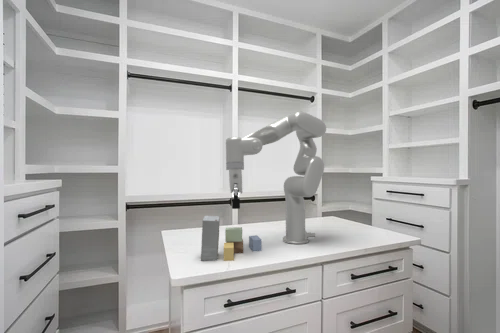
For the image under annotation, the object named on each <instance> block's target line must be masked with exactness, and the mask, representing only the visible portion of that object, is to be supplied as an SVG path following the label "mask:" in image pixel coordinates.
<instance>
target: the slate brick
mask: <svg viewBox="0 0 500 333" xmlns="http://www.w3.org/2000/svg"><path fill="white" fill-rule="evenodd" d="M262 241H263V240H262V238H260V236H258V235H257V234H256V235H248V247H249V249H250V250H251V251H252V252H261V251H262V250H263V249H262V246H263V245H262Z"/></svg>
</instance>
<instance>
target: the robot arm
mask: <svg viewBox="0 0 500 333" xmlns="http://www.w3.org/2000/svg"><path fill="white" fill-rule="evenodd" d="M293 132H295V135H296V137H297V139H298V141H299V145H300V147H299V150H298V153H297V156H296V159H295V161H294V164H293V167H292V168H293V172H294V173H295V174H296V175H292V176H288V177H287V178H286V179H285V180H284V182H283V192H284V197H285V235H284V236H283V237H282V241H283V242H284V243H287V244H291V245H303V244H304V245H305V244H307V243H309V241H310V240H309V238H316V233H315V232H307V230H306V202H305V198H311V197H313V196H314V195H316V193H317V192H318V188H319V187H320V183H321V180H322V178H323V175H324V172H325V162H324V160H323V159H322V158H321V157H320V156H318V155H316V154H317V145H316V142H315V141H314V139H315V138H316V139H317V138H320V137H321V138H322V137H323V136H324V135H325V134H326V133H327V125H326V123H325V122H324V120H322V119H320V118H319V117H316V116H314V115H312V114H310V113H307V112H304V111H296V112H292V113H289V114H286V115H284V116H282V117H281V118H279V119H277V120H276V121H273V122H271V123H270V124H268V125H266V126H264V127H262V128H260V129H258V130H256V131H254V132H252V133H250V134H248V135H246V136H244V137H237V136H235V137H234V136H233V137H232V136H231V137H230V136H229V137H227V138H226V139H225V167H226V169H225V170H226V171H228V178H229V179H228V180H229V190H230V193H231V194H232V195H231V209H233V210H239V209H240V208H241V201H240V200H241V199H240V194H243V173H242V172H243V170H245V159H244V158H245V156H253V155H258V154H259V153H261V151H262V149H263V146H266V145H270V144H273V143H276V142H278V141H280V140H282V139H283V138H285V137H286V136H287V135H290V134H291V133H293Z"/></svg>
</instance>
